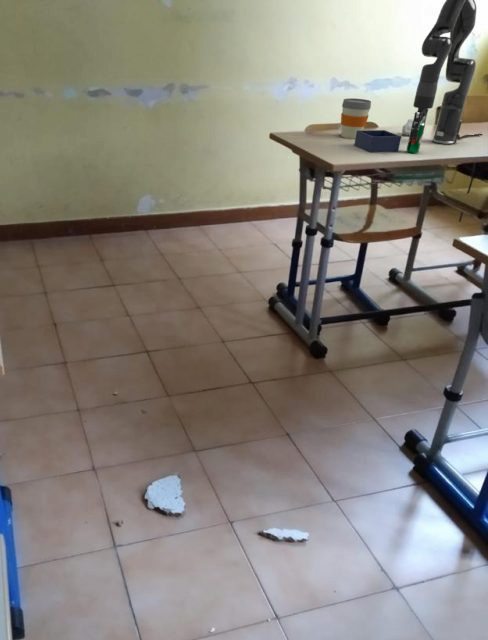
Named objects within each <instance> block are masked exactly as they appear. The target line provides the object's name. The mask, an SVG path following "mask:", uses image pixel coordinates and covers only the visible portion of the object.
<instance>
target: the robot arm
mask: <svg viewBox="0 0 488 640" xmlns="http://www.w3.org/2000/svg"><path fill="white" fill-rule="evenodd" d="M476 18H477V3H476V1H475V0H445V1H444V3H443V5H442V6H441V8H440V12H439V14H438V17H437V19H436V22H435V23H434V25H433V27H432V28H431V29H430V31H429V32H428V34H427V35H426V36H425V38H424V40H423V42H422V44H421V54H422V55H423V57H426V58H435V59H436V60H435V61H434V62H433V63H428V64H427V63H426V64H424V65H423V66H422V68H421V72H420V77H419V81H418V84H417V88H416V92H415V96H414V99H413V105H412V106H413V108H415V109H417V111H415V112H414V116H413V124H412V129H413V131H412V135H411V139H412V140H416V139H417V135H418V130H419V127H420V125H422V123H423V121H424V122H425V123H426V121H427V118H428V117H427V116H428V112H429V110H430V109H433V107H434V104H435V99H436V94H437V91H438V84H439V79H440V75H441V72H442V68H443V67H444V64H445V62H446V67H445V80H446V81H447V82H449V83H455V84H456V83H458V84H459V85H458V87H457V88H455V89H452V90H448V91H446V92H444V94H443V97H442V101H441V106H440V110H439V114H438V118H437V123H436V126H435V131H434V133H433V138H432V142H433V143H435V144H441V145H454V144H457V141H458V140H461V139H463V138H467V137H468V138H469V137H478V136H477V135H480V136H482V134H480V133H473V134H474V135H469V134H464V135H462V136H460V134H459V133H460V131H461V126H462V123H463V120H462V119H461V118H462V115H463V111H464V109H465V108H464V107H465V105H466V99H467V97H468V95H469V91H470V87H471V85H472V82H473V78H474V74H475V71H476V66H477V62H476V60H475V59H473V58H464V57H460V50H461V47H462V46H463V44H464V43H465V41H466V40H467V39H468V37H469V36H470V34H471V33H472V32H473V30H474V29H475V25H476V21H477V20H476ZM445 34H449V37H448V36H442V35H445ZM416 125H417V126H416ZM473 181H474V178H472V177H471V178H470V182H469V186H468V188H467V192H466V195H467V194H468V193H469V194H470V191H471V189H472V184H473ZM463 215H464V212H462V211H461V213H460V216H459V220H458V223H461V222H462V219H463Z"/></svg>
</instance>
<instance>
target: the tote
mask: <svg viewBox="0 0 488 640" xmlns="http://www.w3.org/2000/svg"><path fill="white" fill-rule="evenodd" d="M401 140H402V136H401V135H399V134H396V133H394V132H391V131H389V130H388V131H387V130H385V129H375V130H374V129H371V130H370V129H368V130H364V129H363V131H357V133H356V139H354V145H353V146H356V147H358V149H362V150H364V151H366V152H368V153H392V152H399V151H400V150H399V149H400V144H401Z"/></svg>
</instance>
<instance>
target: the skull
mask: <svg viewBox="0 0 488 640" xmlns="http://www.w3.org/2000/svg"><path fill="white" fill-rule="evenodd" d="M413 120H414V118H413V119H412V118H409V119H408V120H407V121H406V123H405V124H403V126H402V129H401V133H402V135H403V136H406V137H407V136H410V132H411V127H412V123H413Z"/></svg>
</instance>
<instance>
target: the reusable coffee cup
mask: <svg viewBox="0 0 488 640" xmlns="http://www.w3.org/2000/svg"><path fill="white" fill-rule="evenodd" d="M341 107H342V112H341V114H340V125H341V130H340V136H341V138H345V139H351V140H355V139H356V133H357V131H363V130H364V129H365V127H366V126H367V123H368V118H369V113H370V109H371V107H372V101H371V100H369V99H363V98H344V99H343V100H342V105H341Z"/></svg>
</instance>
